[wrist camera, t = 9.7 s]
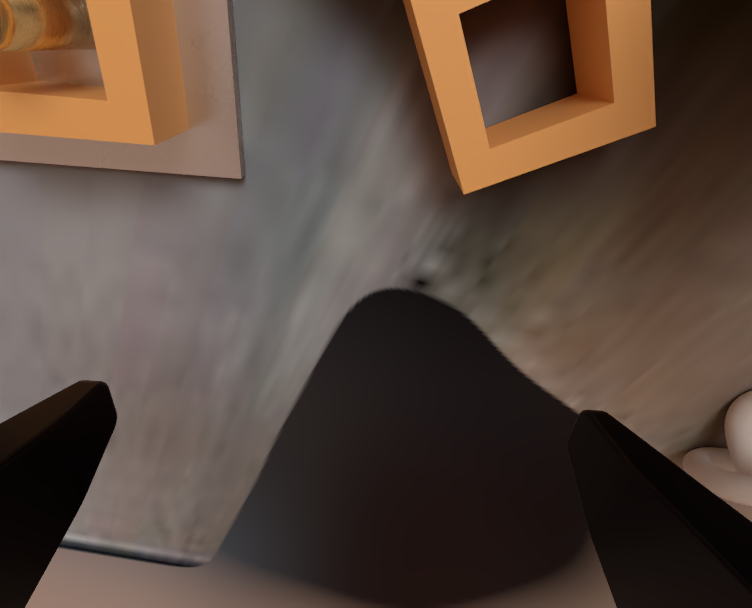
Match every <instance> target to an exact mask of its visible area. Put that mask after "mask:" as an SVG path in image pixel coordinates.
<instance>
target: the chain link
mask: <svg viewBox="0 0 752 608" xmlns="http://www.w3.org/2000/svg"><path fill="white" fill-rule="evenodd" d="M488 1H490V0H403V3H404V6H405V10H406V13H407V17H408V20H409V24H410V28H411V31H412V35H413V38H414V42H415V45H416V49H417V52H418V56H419V59H420V63H421V67H422V70H423V74H424V77H425V81H426V84H427V88H428V91H429V95H430V98H431V102H432V105H433V109H434V113H435V116H436V120H437V123H438V127H439V130H440V134H441V137H442V141H443V144H444V148H445V152H446V155H447V159H448V162H449V166H450V169H451V173H452V175H453V176H454V178H455V180H456V182H457V183H458V185H459V187H460V189H461V190H462V192H463V194H464V195H465V194H467V193H470V192H473V191H476V190H479V189H482V188H484V187H487V186H490V185H493V184H496V183H498V182H501V181H504V180H507V179H510V178H512V177H515V176H518V175H521V174H524V173H527V172H529V171H532V170H535V169H538V168H541V167H543V166H546V165H549V164H552V163H555V162H558V161H560V160H563V159H566V158H569V157H572V156H574V155H577V154H580V153H583V152H586V151H589V150H591V149H594V148H597V147H600V146H603V145H605V144H608V143H611V142H614V141H617V140H619V139H622V138H625V137H628V136H631V135H634V134H636V133H639V132H642V131H645V130H648V129H650V128H653V127H656V116H655V92H654V68H653V44H652V20H651V0H566V8H567V16H568V24H569V32H570V41H571V49H572V57H573V65H574V73H575V81H576V89H577V94H574V95H571V96H569V97H566V98H563V99H561V100H558V101H556V102H553V103H550V104H548V105H545V106H542V107H540V108H537V109H535V110H532V111H529V112H527V113H524V114H521V115H519V116H516V117H513V118H511V119H508V120H506V121H503V122H500V123H498V124H495V125H492V126H490V127H487V128H485V126H484V121H483V117H482V113H481V108H480V104H479V100H478V95H477V91H476V87H475V82H474V78H473V74H472V69H471V65H470V61H469V56H468V52H467V48H466V43H465V39H464V35H463V30H462V26H461V22H460V17H459V14H460V13H462V12H465V11H467V10H469V9H471V8H474V7H476V6H478V5H481V4H483V3H485V2H488Z"/></svg>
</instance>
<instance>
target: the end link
mask: <svg viewBox="0 0 752 608" xmlns="http://www.w3.org/2000/svg"><path fill="white" fill-rule="evenodd" d="M86 3H87V8H88V13H89V17H90V22H91V27H92V31H93V36H94V40H95V45H96V50H97V54H98V59H99V64H100V68H101V73H102V78H103V82H104V87H98V86H87V85H76V84H65V83H54V82H43V81H38V79H37V76H36V72H35V69H34V65H33V62H32V58H31V54H30V51H0V132H3V133H15V134H27V135H39V136H50V137H62V138H74V139H86V140H98V141H110V142H121V143H133V144H145V145H157V144H159V143H161V142H163V141H165V140H167V139H169V138H172V137H174V136H176V135H178V134H180V133H182V132H185V131H187V130H189V121H188V114H187V106H186V98H185V91H184V83H183V76H182V68H181V60H180V53H179V45H178V37H177V30H176V22H175V14H174V7H173V0H86Z"/></svg>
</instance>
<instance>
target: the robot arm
mask: <svg viewBox="0 0 752 608" xmlns="http://www.w3.org/2000/svg"><path fill="white" fill-rule="evenodd" d="M116 422H117V412H116V409H115V406H114V403H113V399H112V396H111V393H110V390H109V387H108V385H107V384H106V383H105V382H102V381H89V380H83V381H79V382H77V383H75V384H73V385H71V386H69V387H67V388H65V389H64V390H62V391H60V392H58V393H56V394H54V395H52V396H51V397H49V398H47V399H45V400H43V401H41V402H39V403H38V404H36V405H34V406H32V407H30V408H28V409H26V410H25V411H23V412H21V413H19V414H17V415H15V416H13V417H12V418H10V419H8V420H6V421H4V422H2V423H1V424H0V608H25V606H26V604H27V603H28V601H29V599H30V597H31V595H32V593H33V592H34V590H35V588H36V586H37V585H38V583H39V581H40V579H41V577H42V575H43V574H44V572H45V570H46V568H47V566H48V565H49V563H50V561H51V559H52V557H53V555H54V554H55V552H56V550H57V548H58V547H59V545H60V543H61V541H62V539H63V538H64V536H65V534H66V532H67V530H68V528H69V527H70V525H71V523H72V521H73V519H74V518H75V516H76V514H77V512H78V510H79V508H80V506H81V504H82V502H83V500H84V498H85V496H86V494H87V491H88V489H89V487H90V485H91V482H92V480H93V477H94V475H95V473H96V470H97V468H98V466H99V463H100V461H101V459H102V456H103V454H104V452H105V449H106V447H107V445H108V442H109V440H110V438H111V435H112V433H113V431H114V428H115V425H116ZM568 452H569V456H570V460H571V464H572V468H573V472H574V476H575V480H576V484H577V488H578V491H579V495H580V499H581V503H582V507H583V511H584V515H585V518H586V522H587V526H588V529H589V532H590V535H591V538H592V541H593V543H594V546H595V549H596V552H597V554H598V557H599V560H600V563H601V565H602V568H603V571H604V573H605V576H606V579H607V582H608V584H609V587H610V590H611V592H612V595H613V598H614V601H615V603H616V606H617V608H752V522H751V521H750V520H748V519H747V518H745V517H744V516H743V515H742V514H740V513H739V512H738V511H736V510H735V509H734V508H732V507H731V506H730V505H728V504H727V503H726V502H725V501H723V500H722V499H721V498H719V497H718V496H717V495H715V494H714V493H713V492H711V491H710V490H709V489H707V488H706V487H705V486H703V485H702V484H701V483H699V482H698V481H697V480H695V479H694V478H693V477H691V476H690V475H689V474H688V473H686V472H685V471H684V470H682V469H681V468H680V467H678V466H677V465H676V464H674V463H673V462H672V461H670V460H669V459H668V458H666V457H665V456H664V455H662V454H661V453H660V452H658V451H657V450H656V449H654V448H653V447H652V446H651V445H649V444H648V443H647V442H645V441H644V440H643V439H641V438H640V437H639V436H637V435H636V434H635V433H633V432H632V431H631V430H629V429H628V428H627V427H625V426H624V425H623V424H621V423H620V422H619V421H618V420H616V419H615V418H614V417H612V416H611V415H610V414H608V413H607V412H604V411H598V410H583V411H582V412H581V413H580V414H579V416H578V418H577V421H576V423H575V425H574V427H573V430H572V432H571V434H570V437H569V440H568Z"/></svg>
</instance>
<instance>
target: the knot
mask: <svg viewBox="0 0 752 608" xmlns="http://www.w3.org/2000/svg"><path fill="white" fill-rule="evenodd" d="M725 437H726V442H727V446H728V449H725V448H717V447H702V448H697V449H693V450H691V451H689V452H688V453H687V454H686V455H685V456H684V458H683V461H682V465H683V469H684V471H685V472H686V473H688V474H689V475H690V476H691V477H693V478H694V479H695V480H697V481H698V482H699V483H701V484H702V485H703V486H705V487H706V488H707V489H709V490H710V491H711V492H713V493H714V494H715V495H717V496H718V497H720V498H723V499H726V500H729V501H732V502H736V503H740V504H744V505H749V506H752V390H751V391H749V392H746V393H744V394H742V395H741V396H739V397H738V398H737V399H736V400H735V401H734V402H733V403H732V404H731V406H730V407H729V409H728V411H727V414H726V417H725Z"/></svg>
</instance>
